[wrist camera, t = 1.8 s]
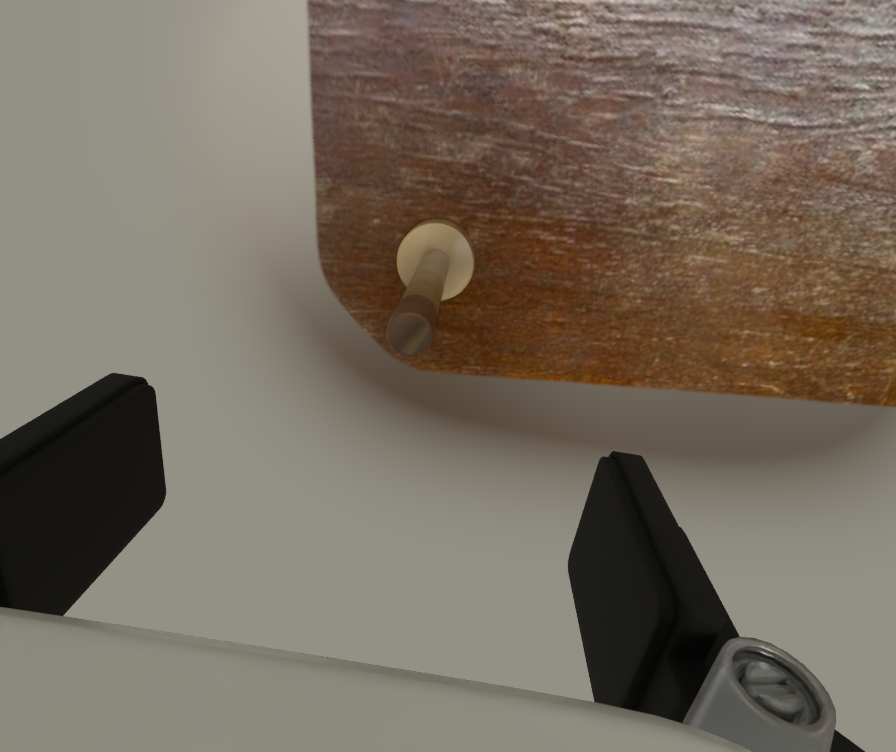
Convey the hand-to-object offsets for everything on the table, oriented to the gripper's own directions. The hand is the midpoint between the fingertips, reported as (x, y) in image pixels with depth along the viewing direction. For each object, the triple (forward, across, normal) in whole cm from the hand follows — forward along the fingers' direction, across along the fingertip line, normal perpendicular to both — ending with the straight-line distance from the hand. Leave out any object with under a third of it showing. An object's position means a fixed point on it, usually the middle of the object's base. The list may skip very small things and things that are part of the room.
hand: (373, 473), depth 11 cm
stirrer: (+22, 0, 0) cm, 22 cm away
